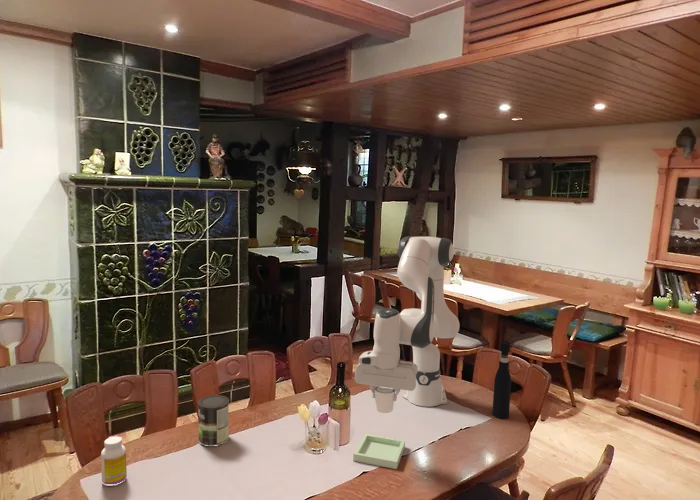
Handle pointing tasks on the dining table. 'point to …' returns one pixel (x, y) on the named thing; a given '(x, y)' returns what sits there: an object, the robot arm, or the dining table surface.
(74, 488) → the dining table surface
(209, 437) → the coffee can
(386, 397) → the shot glass
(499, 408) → the wine bottle
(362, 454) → the tray
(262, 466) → the dining table surface
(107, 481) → the supplement bottle
